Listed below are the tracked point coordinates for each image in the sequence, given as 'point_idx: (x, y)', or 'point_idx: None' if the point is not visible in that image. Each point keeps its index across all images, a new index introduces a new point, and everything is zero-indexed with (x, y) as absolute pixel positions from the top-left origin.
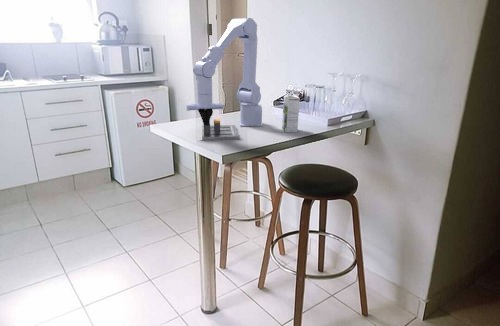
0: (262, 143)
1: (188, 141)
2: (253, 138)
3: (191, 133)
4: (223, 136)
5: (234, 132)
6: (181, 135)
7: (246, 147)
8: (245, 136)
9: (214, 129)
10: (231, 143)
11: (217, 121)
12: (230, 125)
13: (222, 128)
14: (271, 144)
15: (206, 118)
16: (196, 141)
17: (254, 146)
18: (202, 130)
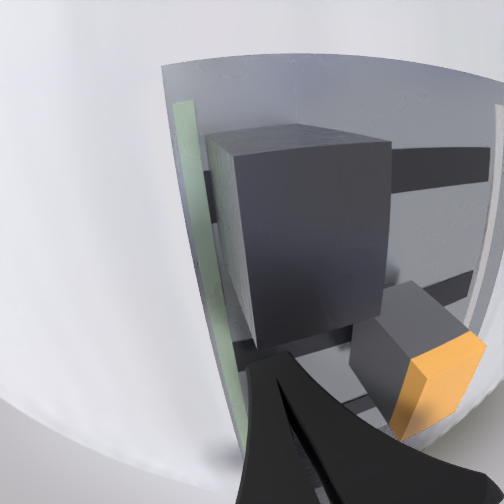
0: (487, 384)
1: (160, 474)
2: (498, 338)
3: (89, 330)
4: (384, 422)
5: (469, 327)
6: (39, 388)
7: (424, 441)
8: (490, 316)
9: (358, 374)
10: (392, 434)
11: (430, 420)
12: (496, 96)
13: (434, 220)
14: (500, 381)
15: (328, 494)
16: (209, 469)
17: (451, 422)
18: (218, 347)
